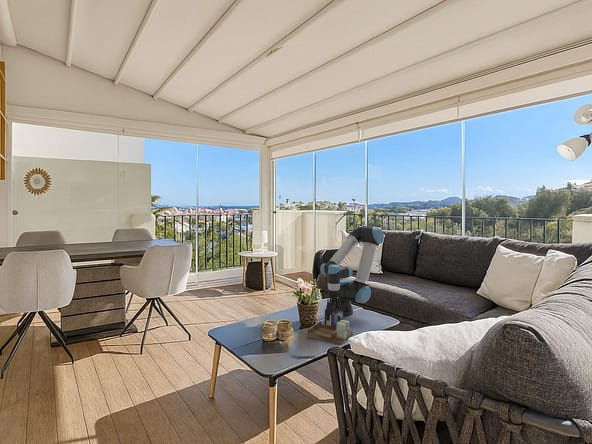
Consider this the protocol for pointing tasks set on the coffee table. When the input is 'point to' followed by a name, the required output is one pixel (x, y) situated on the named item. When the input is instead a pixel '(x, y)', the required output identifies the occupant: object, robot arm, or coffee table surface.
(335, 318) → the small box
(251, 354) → the coffee table surface
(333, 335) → the cradle
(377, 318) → the coffee table surface
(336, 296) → the robot arm
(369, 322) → the coffee table surface
